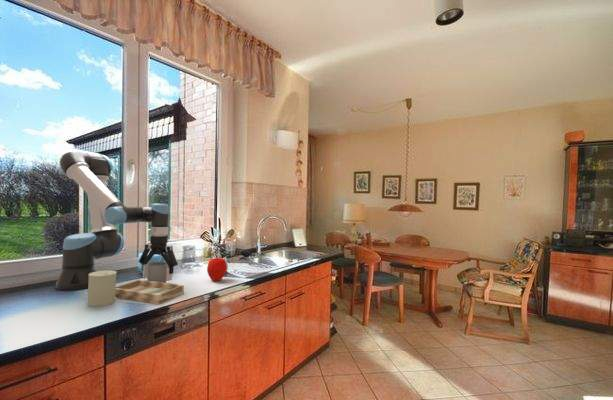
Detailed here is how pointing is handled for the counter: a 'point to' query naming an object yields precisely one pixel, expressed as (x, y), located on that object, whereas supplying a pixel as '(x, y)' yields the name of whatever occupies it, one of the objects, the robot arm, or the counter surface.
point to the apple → (216, 268)
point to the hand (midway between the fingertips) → (157, 279)
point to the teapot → (154, 259)
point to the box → (148, 291)
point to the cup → (157, 272)
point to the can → (101, 288)
